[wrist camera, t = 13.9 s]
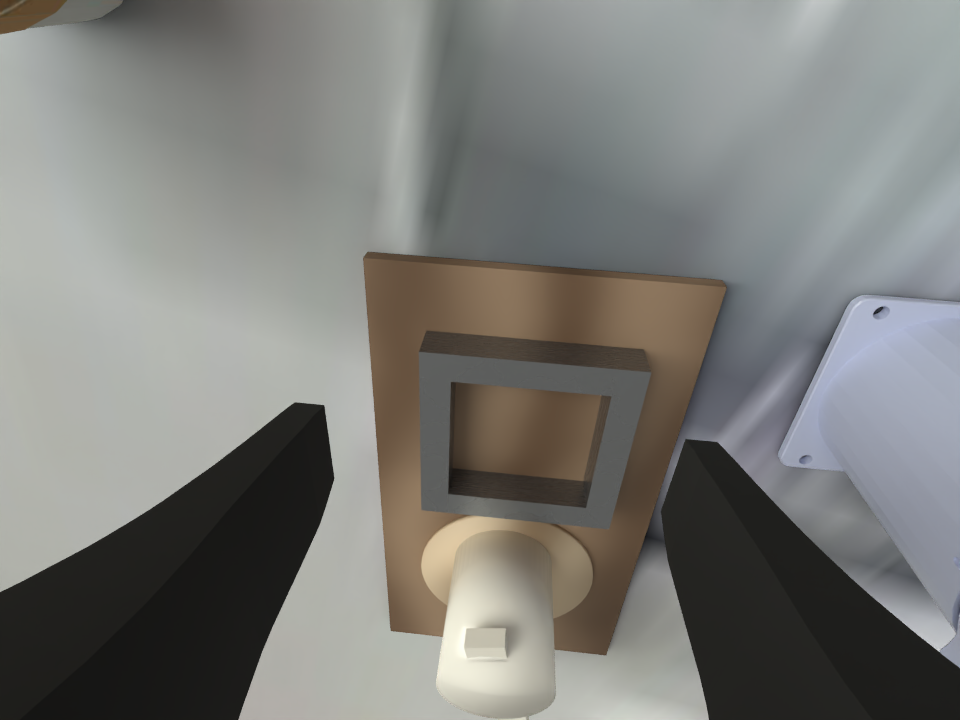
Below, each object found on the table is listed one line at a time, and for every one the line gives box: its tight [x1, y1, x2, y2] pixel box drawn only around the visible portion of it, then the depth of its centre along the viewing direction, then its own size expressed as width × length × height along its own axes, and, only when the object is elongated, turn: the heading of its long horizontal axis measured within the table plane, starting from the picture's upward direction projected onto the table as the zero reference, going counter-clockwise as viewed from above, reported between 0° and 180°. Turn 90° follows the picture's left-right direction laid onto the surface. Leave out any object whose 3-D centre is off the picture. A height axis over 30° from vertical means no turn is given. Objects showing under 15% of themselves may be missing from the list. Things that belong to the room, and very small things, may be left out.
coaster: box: [421, 515, 593, 619], centre depth 28 cm, size 9×9×1 cm
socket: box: [419, 330, 652, 529], centre depth 22 cm, size 8×8×2 cm
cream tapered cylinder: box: [436, 530, 556, 720], centre depth 26 cm, size 9×5×6 cm, turn 9°
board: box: [363, 252, 727, 655], centre depth 26 cm, size 13×24×1 cm, turn 177°
